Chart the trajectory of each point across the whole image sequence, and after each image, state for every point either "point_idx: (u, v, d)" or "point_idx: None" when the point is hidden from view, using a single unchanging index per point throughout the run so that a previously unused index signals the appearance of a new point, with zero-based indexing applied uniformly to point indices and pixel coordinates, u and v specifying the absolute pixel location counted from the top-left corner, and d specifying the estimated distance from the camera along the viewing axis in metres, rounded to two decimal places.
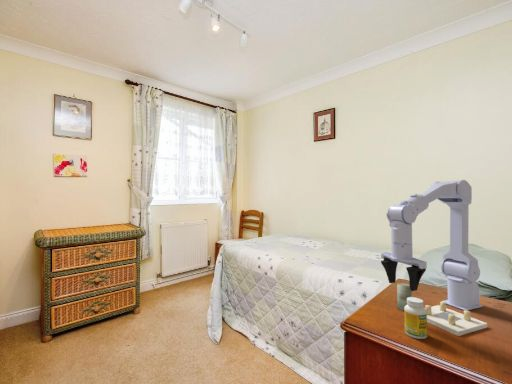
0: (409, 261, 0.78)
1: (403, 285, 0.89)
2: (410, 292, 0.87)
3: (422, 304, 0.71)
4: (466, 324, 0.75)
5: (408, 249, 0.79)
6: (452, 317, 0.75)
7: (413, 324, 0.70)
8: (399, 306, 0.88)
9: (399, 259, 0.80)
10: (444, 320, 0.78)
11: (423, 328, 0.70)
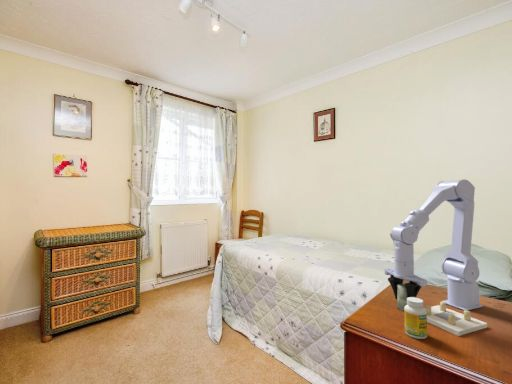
0: (411, 279, 0.85)
1: (403, 285, 0.89)
2: None
3: (422, 304, 0.71)
4: (466, 324, 0.75)
5: (410, 267, 0.86)
6: (452, 317, 0.75)
7: (413, 324, 0.70)
8: (399, 306, 0.88)
9: (401, 277, 0.87)
10: (444, 320, 0.78)
11: (423, 328, 0.70)
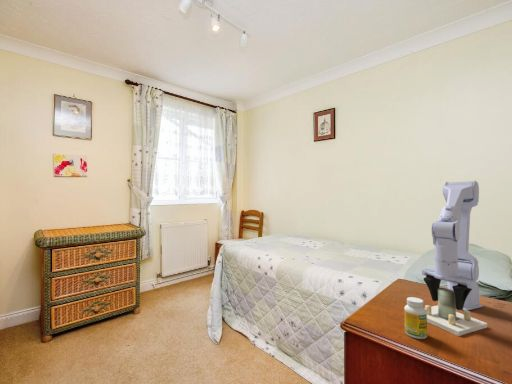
0: (456, 280, 0.76)
1: (445, 290, 0.80)
2: (454, 298, 0.78)
3: (422, 304, 0.71)
4: (466, 324, 0.75)
5: (454, 267, 0.78)
6: (452, 317, 0.75)
7: (413, 324, 0.70)
8: (441, 314, 0.80)
9: (445, 277, 0.78)
10: (444, 320, 0.78)
11: (423, 328, 0.70)
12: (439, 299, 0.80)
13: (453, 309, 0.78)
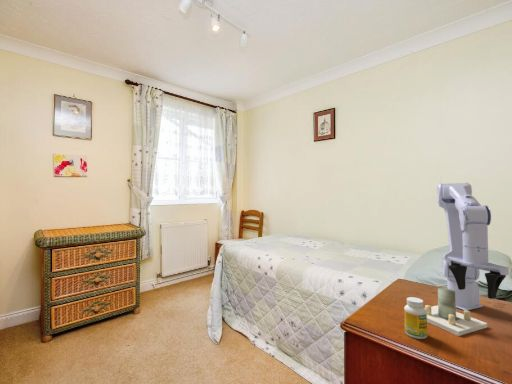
0: (487, 267, 0.72)
1: (445, 290, 0.81)
2: (454, 298, 0.79)
3: (422, 304, 0.71)
4: (466, 324, 0.75)
5: (485, 253, 0.74)
6: (452, 317, 0.75)
7: (412, 324, 0.70)
8: (441, 314, 0.80)
9: (474, 264, 0.74)
10: (444, 320, 0.78)
11: (423, 328, 0.70)
12: (439, 299, 0.80)
13: (453, 309, 0.78)
